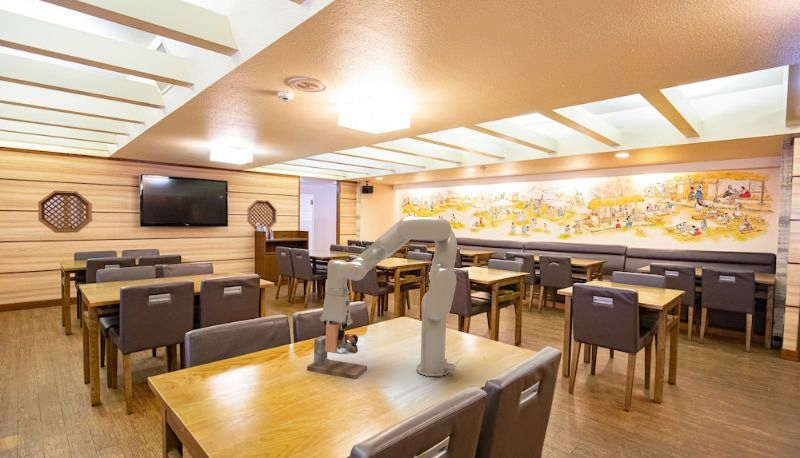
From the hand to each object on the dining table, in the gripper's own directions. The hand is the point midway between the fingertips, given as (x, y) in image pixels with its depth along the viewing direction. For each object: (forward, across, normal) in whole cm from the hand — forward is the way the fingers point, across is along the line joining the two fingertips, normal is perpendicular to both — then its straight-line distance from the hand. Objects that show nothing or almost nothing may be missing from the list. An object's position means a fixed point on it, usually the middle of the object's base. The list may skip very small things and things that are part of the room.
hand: (335, 338), depth 149 cm
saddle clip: (+4, 0, 0) cm, 4 cm away
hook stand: (+12, -1, 0) cm, 12 cm away
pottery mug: (+13, +6, -22) cm, 26 cm away
